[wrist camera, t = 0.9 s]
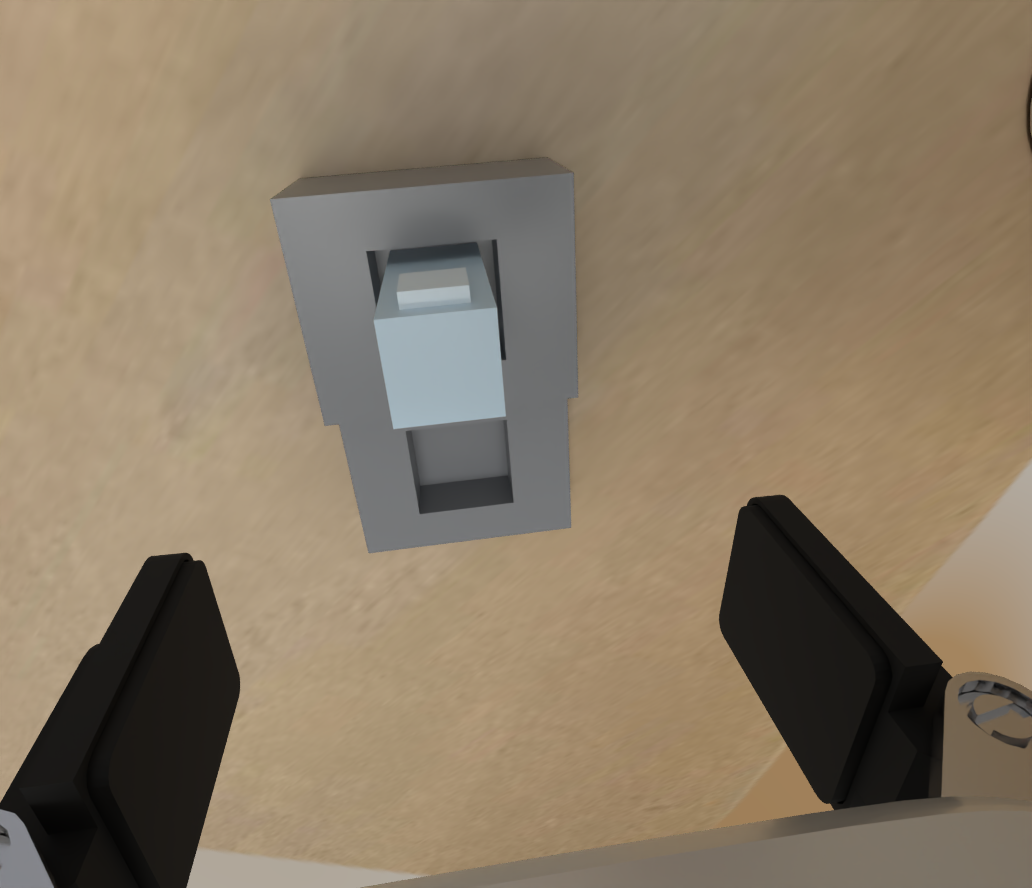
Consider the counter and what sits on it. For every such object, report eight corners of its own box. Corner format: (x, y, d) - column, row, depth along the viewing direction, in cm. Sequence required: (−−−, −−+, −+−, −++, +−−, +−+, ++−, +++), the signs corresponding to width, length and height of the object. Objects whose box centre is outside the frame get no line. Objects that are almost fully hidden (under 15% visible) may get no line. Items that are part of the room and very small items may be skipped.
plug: (475, 229, 29) (495, 289, 21) (484, 325, 32) (505, 416, 23) (387, 237, 29) (370, 301, 20) (403, 334, 31) (393, 429, 23)
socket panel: (547, 157, 31) (573, 172, 26) (560, 495, 41) (581, 559, 36) (299, 178, 31) (270, 199, 25) (373, 518, 40) (364, 588, 35)
